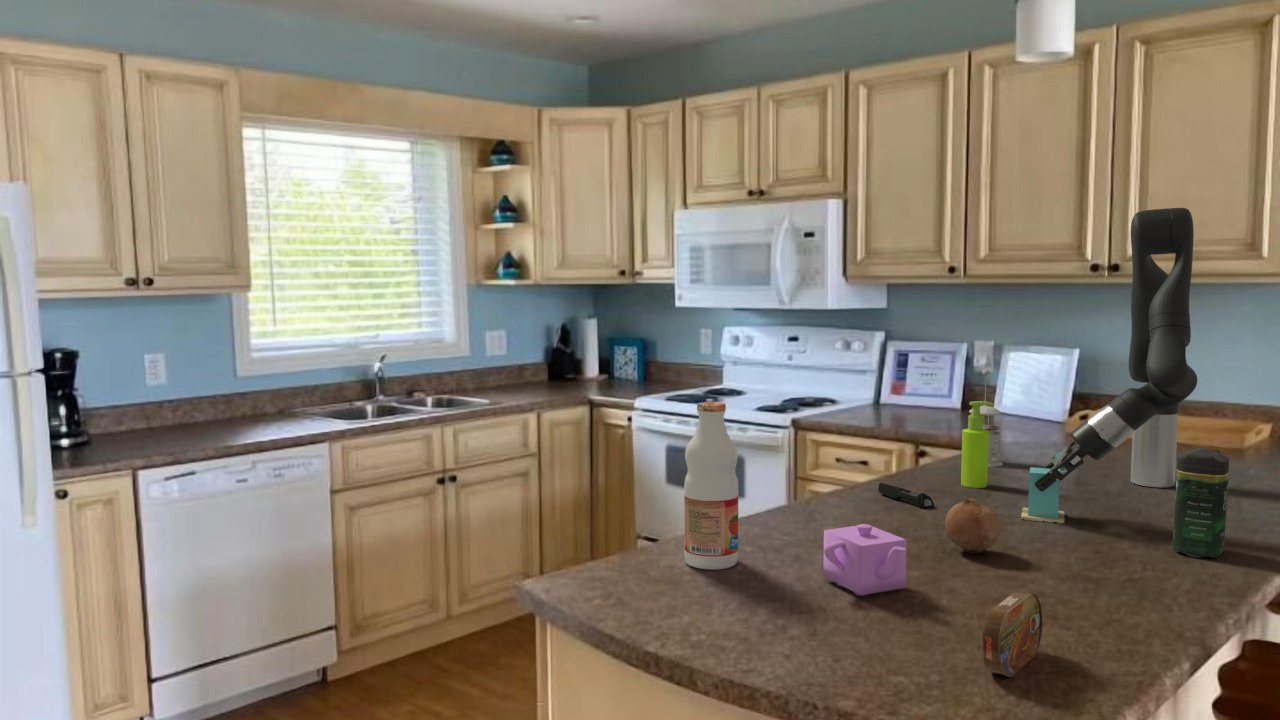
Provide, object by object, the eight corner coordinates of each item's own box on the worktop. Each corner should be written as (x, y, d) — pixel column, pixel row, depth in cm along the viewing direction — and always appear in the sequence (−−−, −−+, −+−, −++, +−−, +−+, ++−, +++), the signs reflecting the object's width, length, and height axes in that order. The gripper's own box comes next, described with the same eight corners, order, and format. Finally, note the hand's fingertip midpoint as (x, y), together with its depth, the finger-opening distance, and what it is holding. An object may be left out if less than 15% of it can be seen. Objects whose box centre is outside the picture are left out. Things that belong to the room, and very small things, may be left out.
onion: (937, 545, 171) (939, 492, 170) (989, 545, 171) (990, 492, 170) (953, 560, 162) (955, 504, 161) (1008, 561, 161) (1009, 504, 160)
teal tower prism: (1028, 509, 194) (1030, 467, 193) (1058, 512, 192) (1059, 469, 191) (1027, 515, 189) (1029, 472, 188) (1057, 518, 187) (1059, 474, 186)
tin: (1001, 686, 112) (1003, 619, 112) (976, 679, 115) (978, 613, 114) (1044, 649, 124) (1046, 587, 123) (1020, 643, 126) (1022, 582, 125)
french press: (963, 465, 243) (965, 370, 241) (965, 457, 254) (967, 366, 251) (1003, 467, 239) (1006, 371, 237) (1003, 459, 250) (1006, 367, 248)
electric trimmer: (887, 494, 213) (887, 480, 213) (935, 508, 199) (935, 494, 199) (874, 496, 211) (874, 482, 211) (922, 510, 197) (922, 496, 197)
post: (1022, 510, 196) (1023, 475, 195) (1064, 514, 193) (1065, 478, 192) (1020, 519, 189) (1022, 482, 188) (1064, 523, 185) (1065, 486, 185)
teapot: (937, 600, 142) (938, 536, 141) (862, 614, 137) (863, 547, 136) (864, 567, 159) (865, 509, 158) (795, 578, 153) (796, 518, 152)
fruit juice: (678, 556, 165) (677, 400, 163) (728, 552, 167) (728, 399, 165) (692, 572, 156) (692, 408, 153) (745, 568, 158) (746, 406, 156)
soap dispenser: (993, 488, 216) (996, 403, 214) (962, 487, 217) (965, 403, 216) (989, 483, 222) (992, 400, 220) (959, 482, 223) (961, 399, 221)
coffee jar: (1221, 562, 160) (1226, 456, 158) (1168, 554, 165) (1173, 451, 163) (1227, 549, 168) (1232, 448, 166) (1177, 541, 172) (1182, 443, 171)
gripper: (1087, 413, 192) (1026, 463, 198) (1089, 423, 179) (1023, 476, 185) (1115, 440, 190) (1052, 490, 196) (1118, 452, 177) (1051, 505, 183)
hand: (1038, 483), depth 191 cm, fingers open, 8 cm apart
